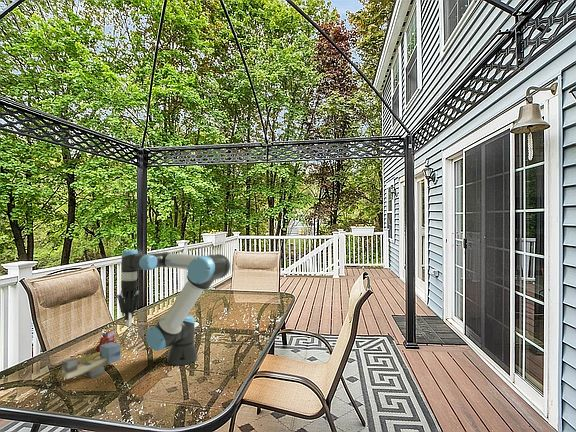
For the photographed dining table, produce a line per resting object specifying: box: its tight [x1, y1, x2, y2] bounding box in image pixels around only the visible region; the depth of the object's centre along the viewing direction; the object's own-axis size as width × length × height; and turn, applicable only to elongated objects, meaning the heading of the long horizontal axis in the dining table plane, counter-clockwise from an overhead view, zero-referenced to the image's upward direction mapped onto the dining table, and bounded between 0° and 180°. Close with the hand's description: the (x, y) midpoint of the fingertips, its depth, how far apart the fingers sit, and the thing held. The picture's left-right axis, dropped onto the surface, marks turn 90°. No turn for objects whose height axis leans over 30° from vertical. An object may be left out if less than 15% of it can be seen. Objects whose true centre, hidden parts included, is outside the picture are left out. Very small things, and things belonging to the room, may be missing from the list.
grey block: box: [100, 342, 121, 365], centre depth 173 cm, size 7×6×7 cm
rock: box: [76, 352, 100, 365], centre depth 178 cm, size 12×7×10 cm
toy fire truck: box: [95, 329, 118, 353], centre depth 196 cm, size 7×12×10 cm, turn 172°
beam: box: [61, 352, 123, 380], centre depth 166 cm, size 7×26×10 cm, turn 149°
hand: (128, 325), depth 182 cm, fingers closed
